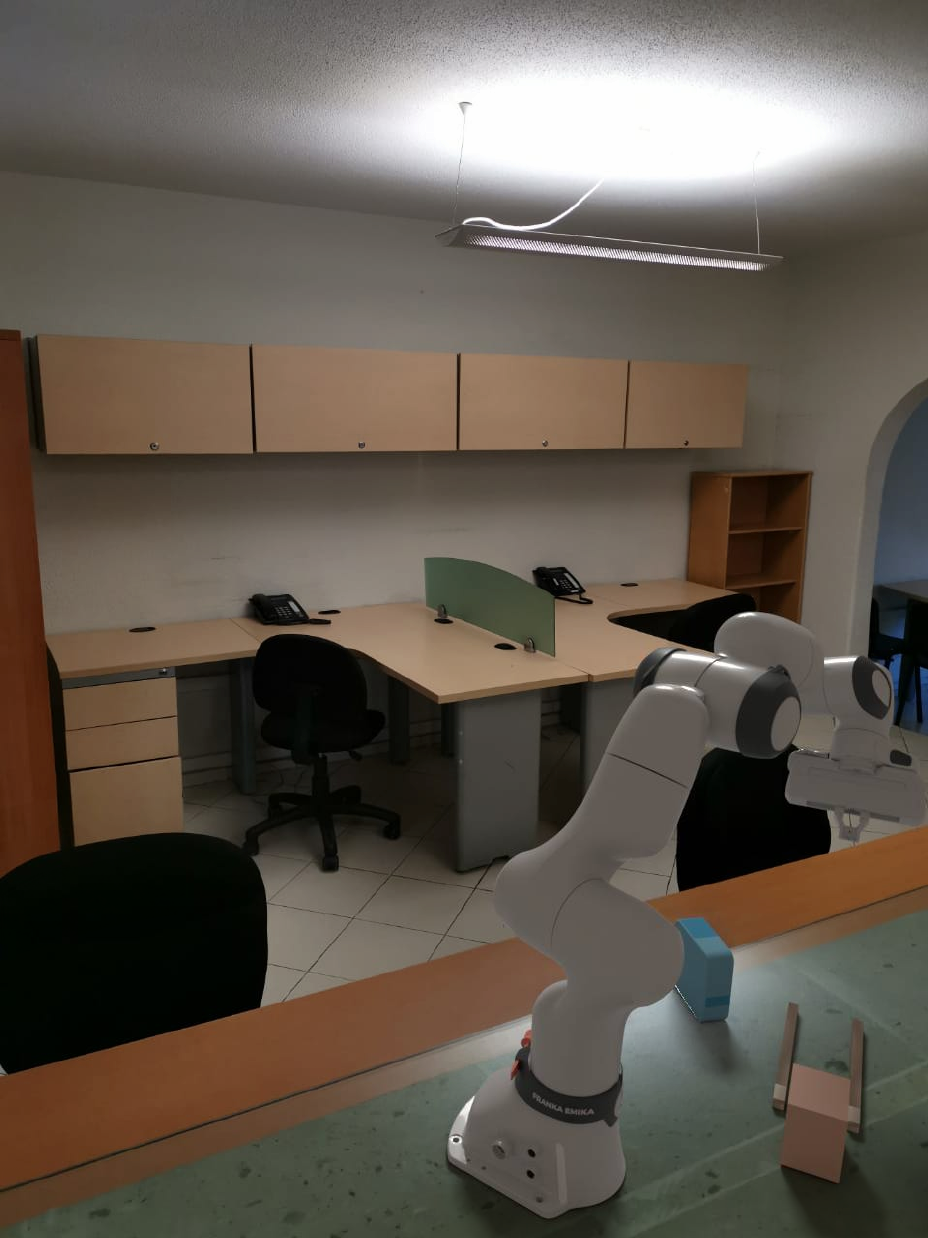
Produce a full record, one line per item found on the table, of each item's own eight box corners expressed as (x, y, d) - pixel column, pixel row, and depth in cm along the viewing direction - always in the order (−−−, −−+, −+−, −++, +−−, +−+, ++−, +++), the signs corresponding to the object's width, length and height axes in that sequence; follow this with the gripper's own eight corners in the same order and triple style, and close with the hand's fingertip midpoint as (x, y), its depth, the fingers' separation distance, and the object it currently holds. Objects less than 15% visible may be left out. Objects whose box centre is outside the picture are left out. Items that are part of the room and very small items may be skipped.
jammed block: (779, 1164, 118) (787, 1103, 116) (785, 1120, 125) (793, 1063, 123) (839, 1183, 115) (848, 1122, 113) (841, 1138, 122) (850, 1079, 120)
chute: (772, 1107, 128) (773, 1097, 127) (787, 1010, 148) (788, 1002, 148) (858, 1133, 124) (859, 1124, 123) (862, 1030, 144) (863, 1021, 144)
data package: (728, 1023, 145) (735, 955, 142) (701, 1027, 144) (708, 958, 141) (694, 977, 156) (700, 913, 153) (668, 980, 155) (674, 915, 152)
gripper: (790, 738, 150) (777, 818, 144) (931, 760, 142) (924, 846, 136) (790, 755, 155) (777, 833, 149) (925, 777, 147) (919, 861, 141)
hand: (848, 839), depth 142 cm, fingers closed
